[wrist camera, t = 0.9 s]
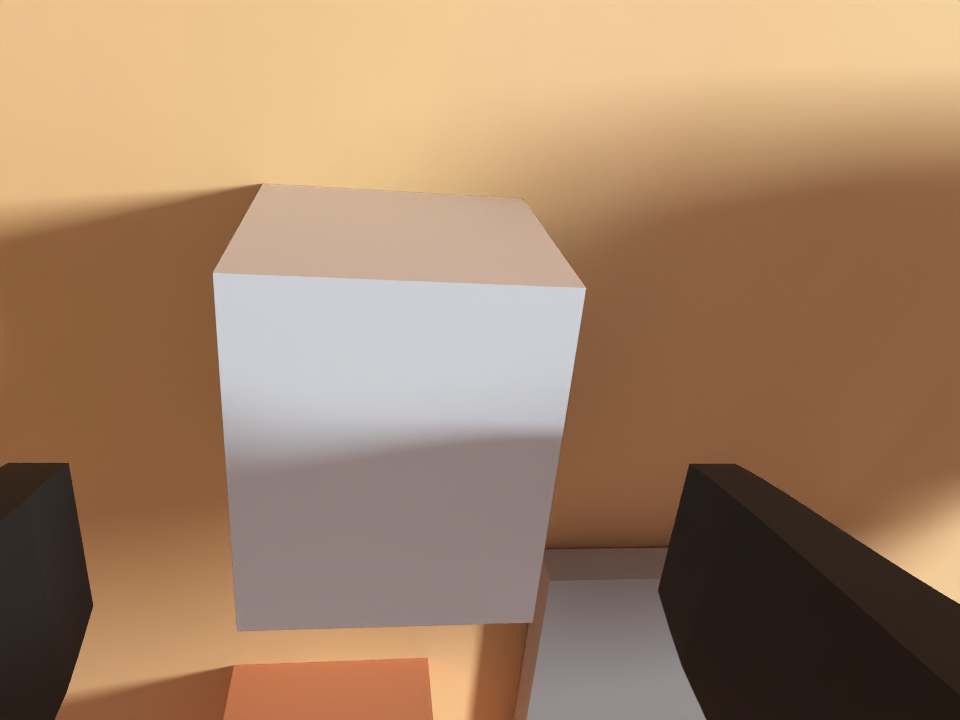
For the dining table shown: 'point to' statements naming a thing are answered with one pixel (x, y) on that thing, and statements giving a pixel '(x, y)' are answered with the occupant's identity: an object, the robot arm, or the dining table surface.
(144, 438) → the dining table surface
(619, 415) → the dining table surface
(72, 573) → the robot arm
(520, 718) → the gray block
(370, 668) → the terracotta brick
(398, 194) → the tall white block
